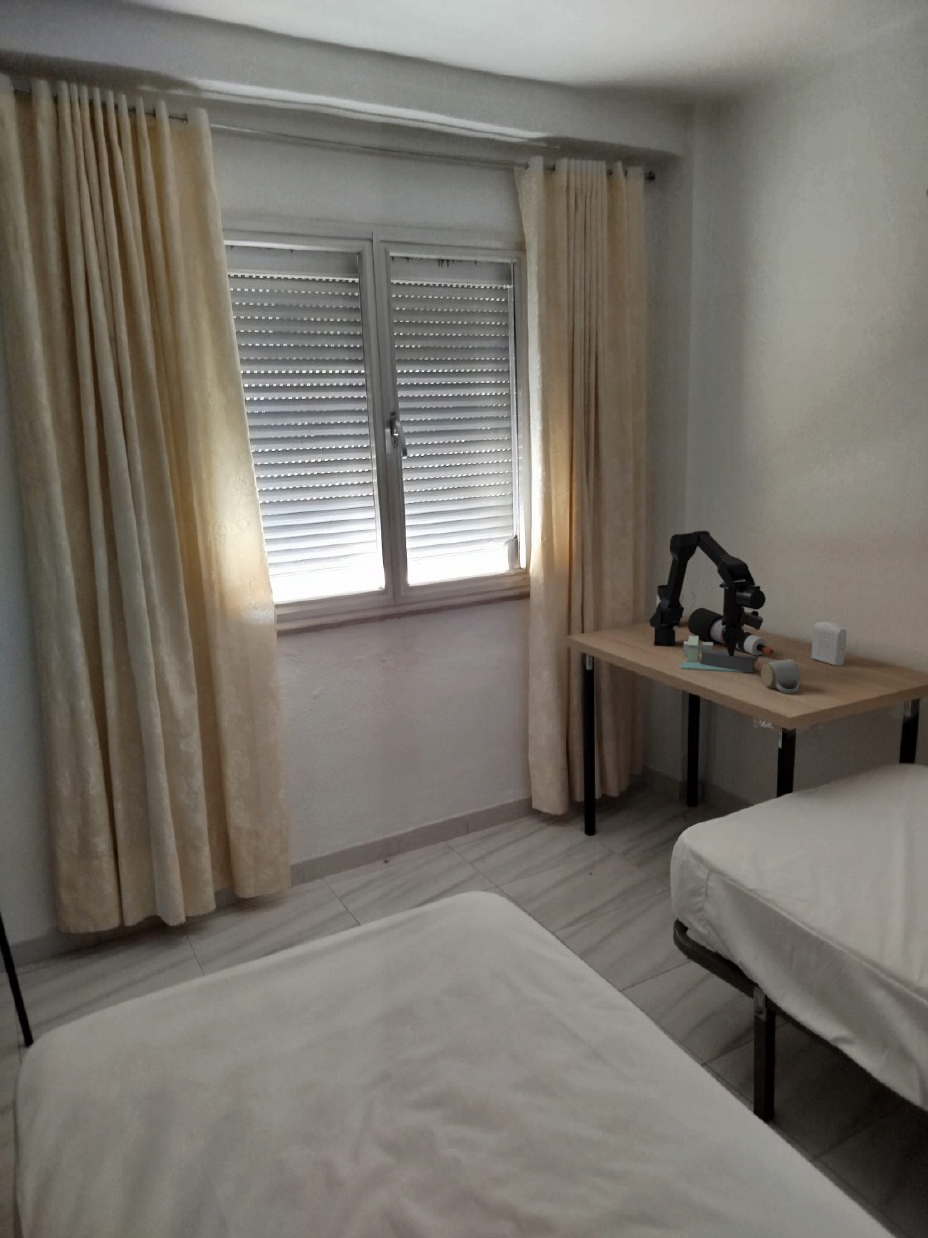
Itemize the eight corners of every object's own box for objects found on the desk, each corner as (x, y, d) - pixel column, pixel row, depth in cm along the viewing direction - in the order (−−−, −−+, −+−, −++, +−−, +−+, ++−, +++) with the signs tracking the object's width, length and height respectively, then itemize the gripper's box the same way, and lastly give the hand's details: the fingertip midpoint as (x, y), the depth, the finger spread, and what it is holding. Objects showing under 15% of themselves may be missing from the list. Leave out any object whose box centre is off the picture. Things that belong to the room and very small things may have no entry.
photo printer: (846, 664, 242) (849, 625, 240) (836, 666, 241) (839, 626, 238) (818, 657, 251) (821, 618, 249) (809, 658, 250) (811, 620, 247)
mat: (681, 668, 243) (681, 667, 243) (682, 662, 250) (682, 661, 249) (747, 672, 237) (747, 671, 237) (746, 666, 244) (746, 664, 244)
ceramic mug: (758, 684, 226) (759, 658, 224) (784, 681, 227) (786, 656, 226) (779, 696, 216) (781, 669, 214) (806, 693, 217) (808, 666, 215)
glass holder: (657, 622, 304) (658, 584, 301) (695, 625, 299) (696, 585, 295) (652, 627, 296) (653, 588, 293) (692, 630, 291) (693, 589, 288)
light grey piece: (687, 662, 249) (687, 645, 248) (688, 651, 262) (689, 635, 261) (697, 663, 248) (697, 645, 247) (698, 652, 261) (698, 635, 260)
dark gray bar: (703, 661, 249) (698, 663, 246) (704, 648, 248) (698, 651, 245) (759, 670, 238) (754, 673, 235) (760, 657, 237) (755, 660, 234)
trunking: (683, 656, 257) (683, 644, 256) (683, 652, 261) (684, 641, 260) (712, 657, 254) (712, 645, 253) (712, 654, 258) (712, 642, 257)
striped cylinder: (763, 673, 251) (756, 648, 247) (692, 640, 280) (684, 617, 276) (786, 655, 254) (779, 631, 249) (713, 624, 283) (705, 602, 278)
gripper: (763, 611, 227) (761, 663, 230) (760, 598, 244) (758, 648, 247) (722, 609, 230) (720, 662, 233) (722, 598, 247) (720, 646, 251)
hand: (731, 654), depth 241 cm, fingers closed on dark gray bar, 4 cm apart
